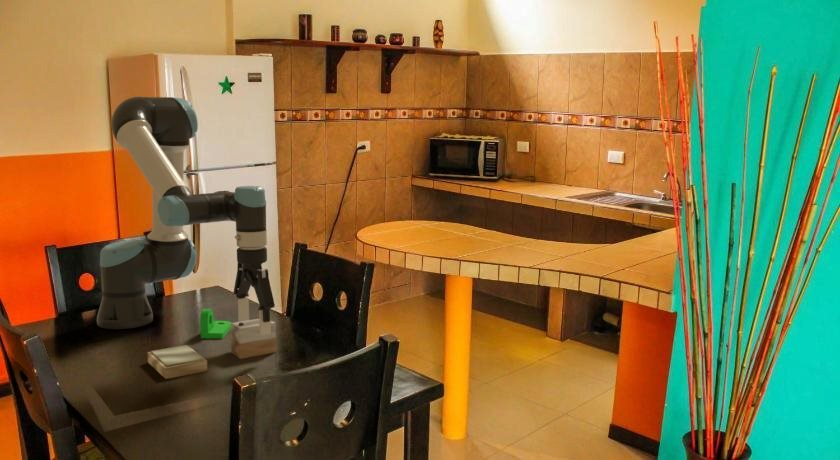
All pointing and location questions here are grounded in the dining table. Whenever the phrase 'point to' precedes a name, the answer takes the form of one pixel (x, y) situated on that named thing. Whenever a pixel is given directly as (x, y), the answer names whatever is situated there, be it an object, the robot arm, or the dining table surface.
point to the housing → (252, 339)
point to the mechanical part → (213, 325)
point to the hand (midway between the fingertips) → (254, 328)
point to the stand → (177, 361)
